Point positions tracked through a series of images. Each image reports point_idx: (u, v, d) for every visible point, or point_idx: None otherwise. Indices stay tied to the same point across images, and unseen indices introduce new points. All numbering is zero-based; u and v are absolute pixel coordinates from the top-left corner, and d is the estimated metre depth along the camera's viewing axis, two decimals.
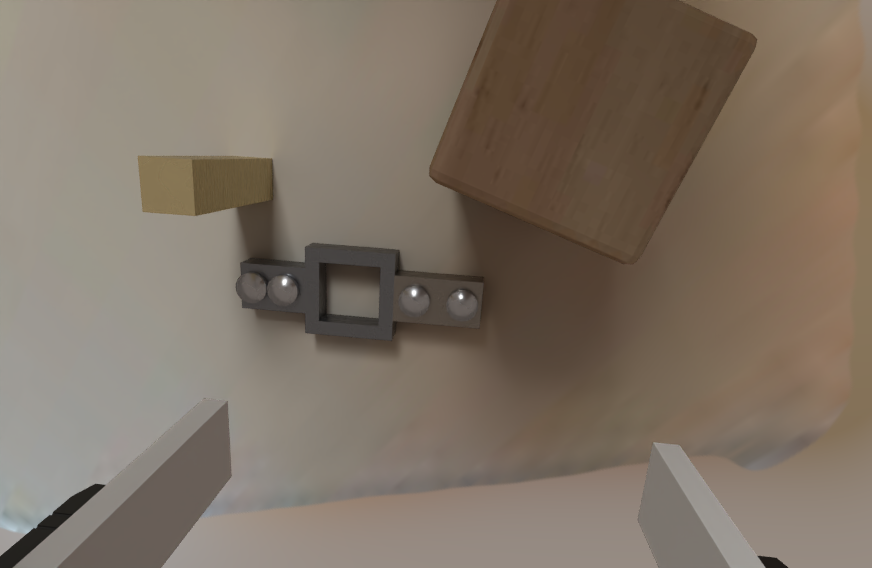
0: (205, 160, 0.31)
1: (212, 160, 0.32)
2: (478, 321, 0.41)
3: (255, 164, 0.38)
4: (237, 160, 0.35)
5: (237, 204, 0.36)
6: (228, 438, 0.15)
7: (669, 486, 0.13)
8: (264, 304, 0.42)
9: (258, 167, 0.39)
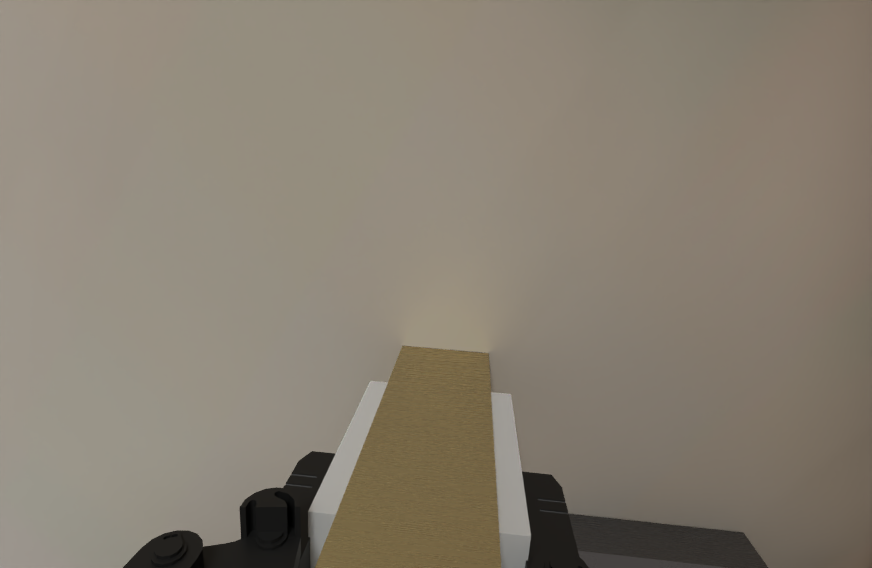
0: None
1: (499, 541, 0.10)
2: None
3: None
4: (493, 445, 0.13)
5: None
6: None
7: None
8: None
9: None
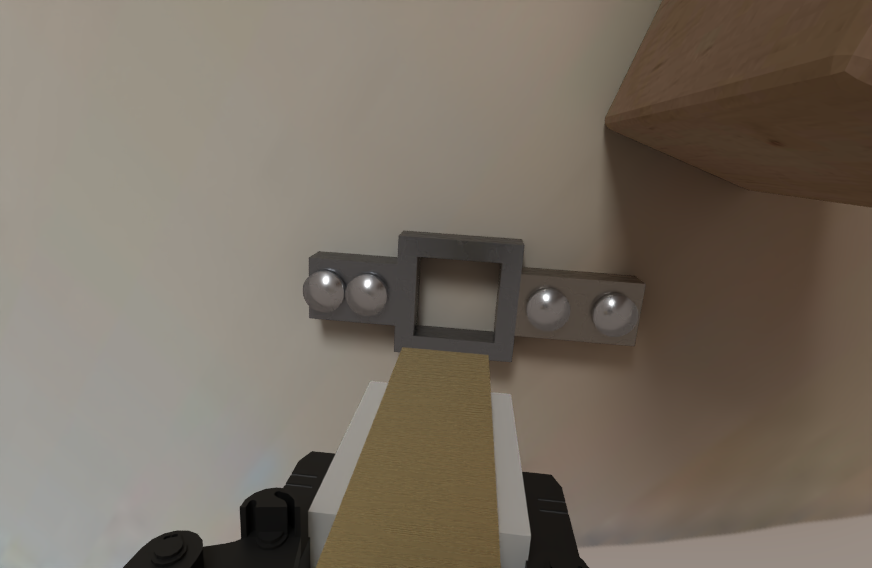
0: None
1: None
2: (633, 336, 0.30)
3: None
4: (493, 447, 0.13)
5: None
6: None
7: None
8: (339, 313, 0.31)
9: None
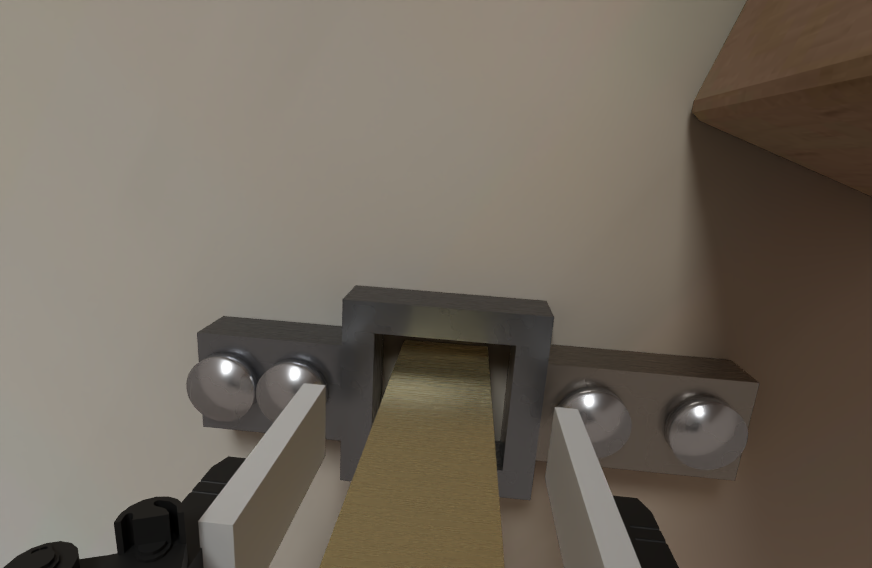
0: (502, 544, 0.10)
1: (499, 514, 0.11)
2: (734, 465, 0.18)
3: None
4: (493, 430, 0.14)
5: None
6: (324, 420, 0.17)
7: (560, 442, 0.15)
8: (251, 420, 0.19)
9: None
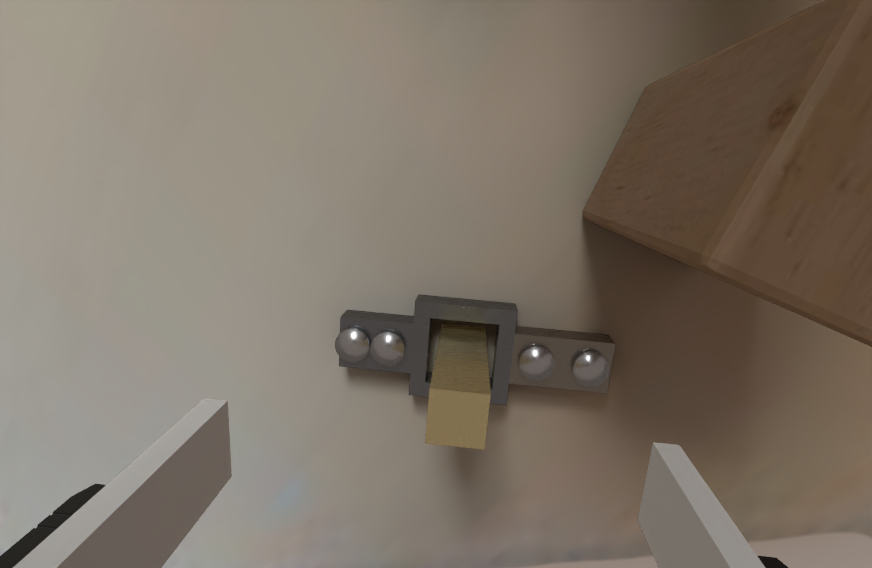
0: (489, 384, 0.28)
1: None
2: (606, 385, 0.37)
3: None
4: (487, 357, 0.33)
5: None
6: (228, 438, 0.15)
7: (669, 486, 0.13)
8: (364, 362, 0.38)
9: None
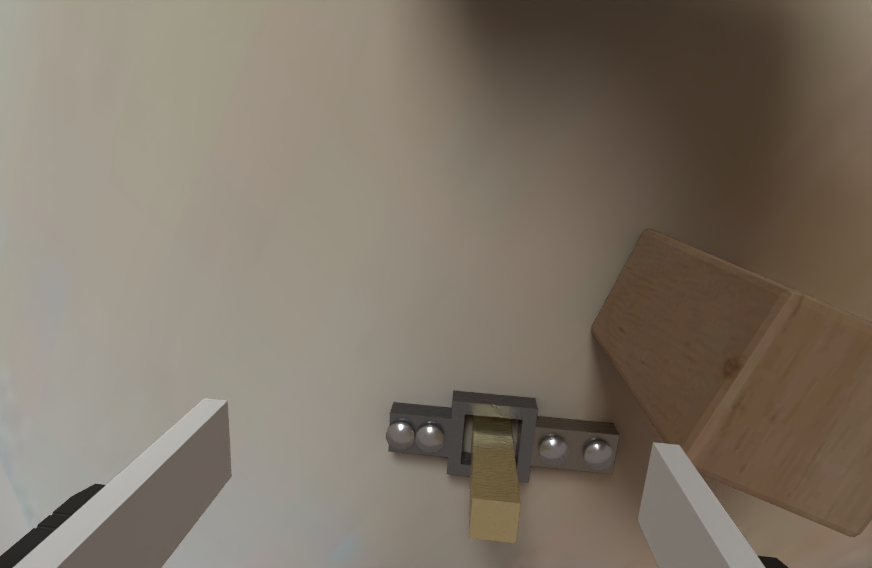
0: None
1: (517, 482, 0.37)
2: (611, 468, 0.44)
3: None
4: (514, 456, 0.40)
5: None
6: (228, 438, 0.15)
7: (670, 486, 0.13)
8: (409, 448, 0.46)
9: None
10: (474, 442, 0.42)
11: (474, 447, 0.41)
